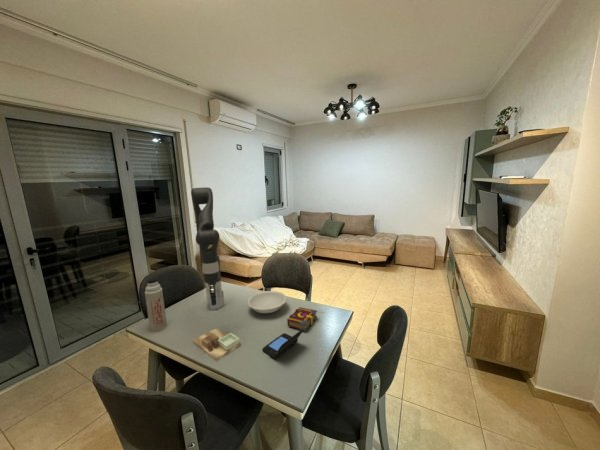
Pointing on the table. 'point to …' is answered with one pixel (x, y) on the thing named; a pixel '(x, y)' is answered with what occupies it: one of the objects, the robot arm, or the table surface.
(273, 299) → the soup bowl
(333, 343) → the table surface
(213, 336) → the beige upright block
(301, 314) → the decorative book
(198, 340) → the board
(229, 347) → the tray
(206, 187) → the robot arm
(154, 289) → the thermos bottle
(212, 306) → the dowel
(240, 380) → the table surface
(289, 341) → the game console
